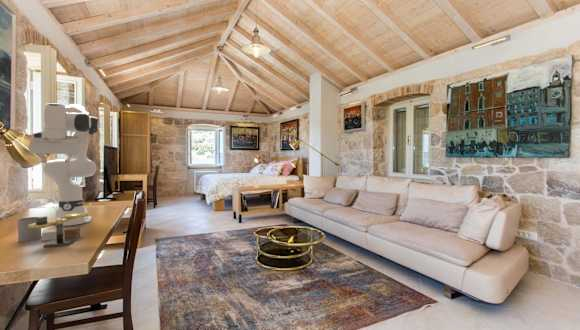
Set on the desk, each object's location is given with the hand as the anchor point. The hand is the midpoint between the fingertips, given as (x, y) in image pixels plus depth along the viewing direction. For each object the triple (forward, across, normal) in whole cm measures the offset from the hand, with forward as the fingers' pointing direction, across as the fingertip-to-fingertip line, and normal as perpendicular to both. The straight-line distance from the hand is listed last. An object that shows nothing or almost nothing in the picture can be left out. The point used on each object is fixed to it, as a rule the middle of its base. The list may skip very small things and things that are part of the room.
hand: (56, 163), depth 139 cm
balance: (+38, -6, +12) cm, 40 cm away
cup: (+38, +12, -2) cm, 40 cm away
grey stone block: (+38, +3, +1) cm, 38 cm away
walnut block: (+38, -7, +3) cm, 39 cm away
